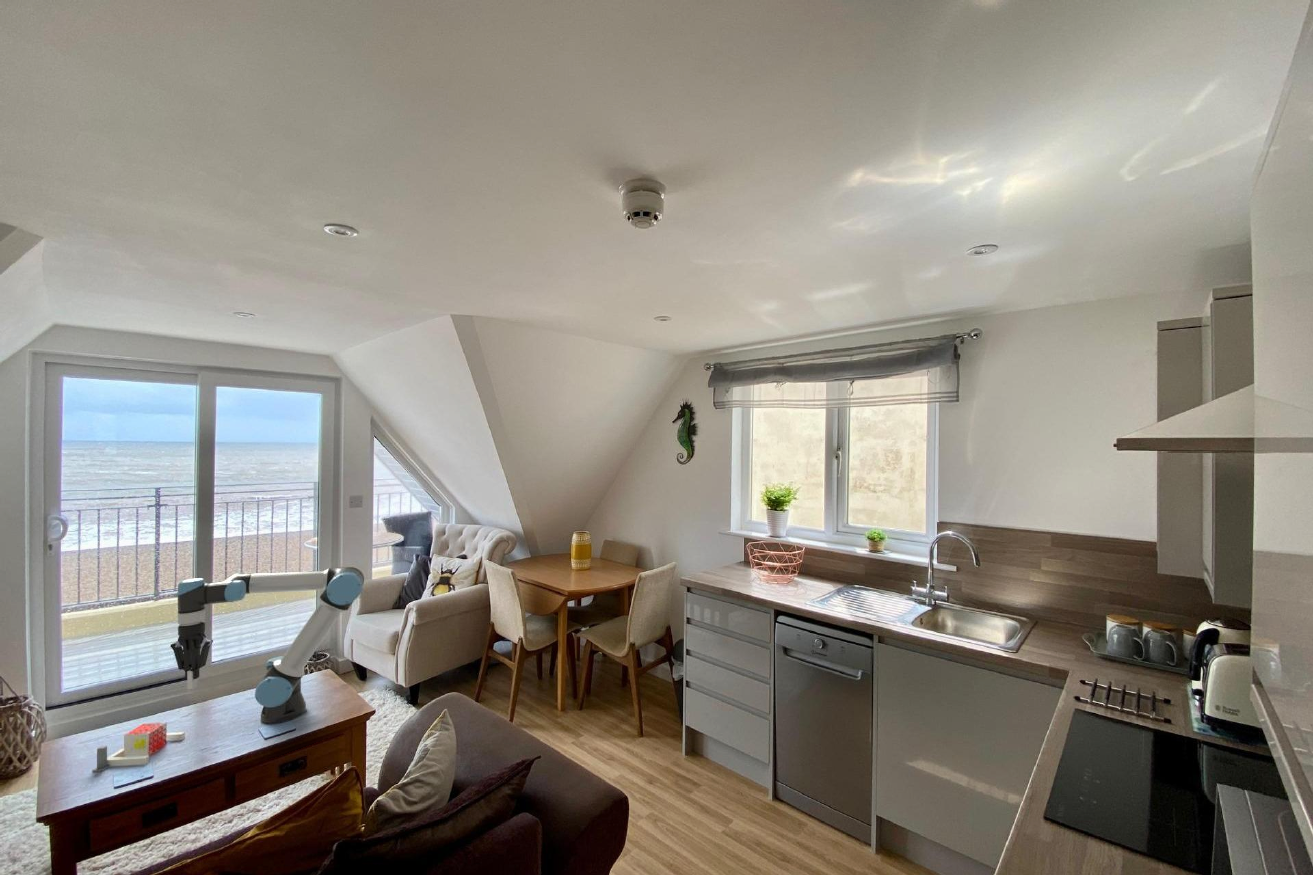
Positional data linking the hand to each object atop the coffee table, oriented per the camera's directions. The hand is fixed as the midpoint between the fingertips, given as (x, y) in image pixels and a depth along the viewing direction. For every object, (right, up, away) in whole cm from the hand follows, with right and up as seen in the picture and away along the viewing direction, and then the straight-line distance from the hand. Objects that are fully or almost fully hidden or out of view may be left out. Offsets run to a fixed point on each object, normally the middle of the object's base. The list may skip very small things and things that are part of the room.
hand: (192, 687), depth 198 cm
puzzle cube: (-14, -21, -4) cm, 25 cm away
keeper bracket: (-13, -21, -6) cm, 25 cm away
